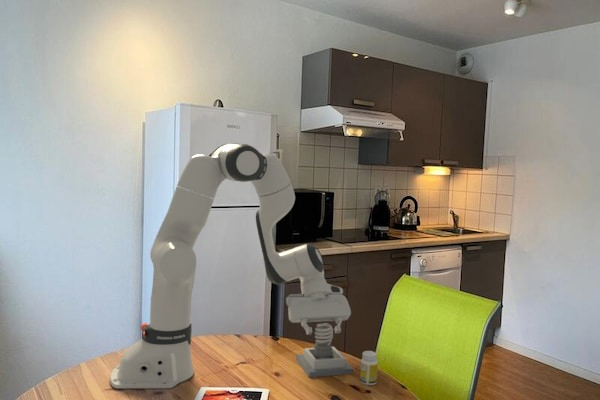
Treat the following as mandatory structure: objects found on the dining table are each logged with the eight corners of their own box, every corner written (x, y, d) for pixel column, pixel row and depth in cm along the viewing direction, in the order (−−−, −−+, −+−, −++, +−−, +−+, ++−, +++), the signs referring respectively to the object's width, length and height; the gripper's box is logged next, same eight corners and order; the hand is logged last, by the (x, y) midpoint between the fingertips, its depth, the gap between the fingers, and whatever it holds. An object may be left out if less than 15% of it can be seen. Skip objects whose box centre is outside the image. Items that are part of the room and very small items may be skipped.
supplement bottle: (377, 379, 132) (379, 351, 132) (375, 386, 128) (377, 357, 127) (360, 377, 133) (362, 349, 133) (358, 384, 129) (360, 355, 128)
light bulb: (331, 358, 142) (333, 321, 141) (331, 366, 136) (333, 326, 136) (313, 357, 143) (315, 319, 142) (312, 364, 137) (314, 325, 136)
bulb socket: (308, 377, 131) (309, 363, 131) (296, 359, 144) (296, 347, 144) (353, 373, 136) (353, 360, 135) (337, 356, 148) (337, 344, 148)
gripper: (287, 289, 144) (294, 330, 135) (346, 288, 150) (357, 326, 141) (282, 299, 148) (289, 339, 139) (340, 297, 154) (350, 335, 145)
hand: (324, 333), depth 140 cm, fingers open, 8 cm apart
